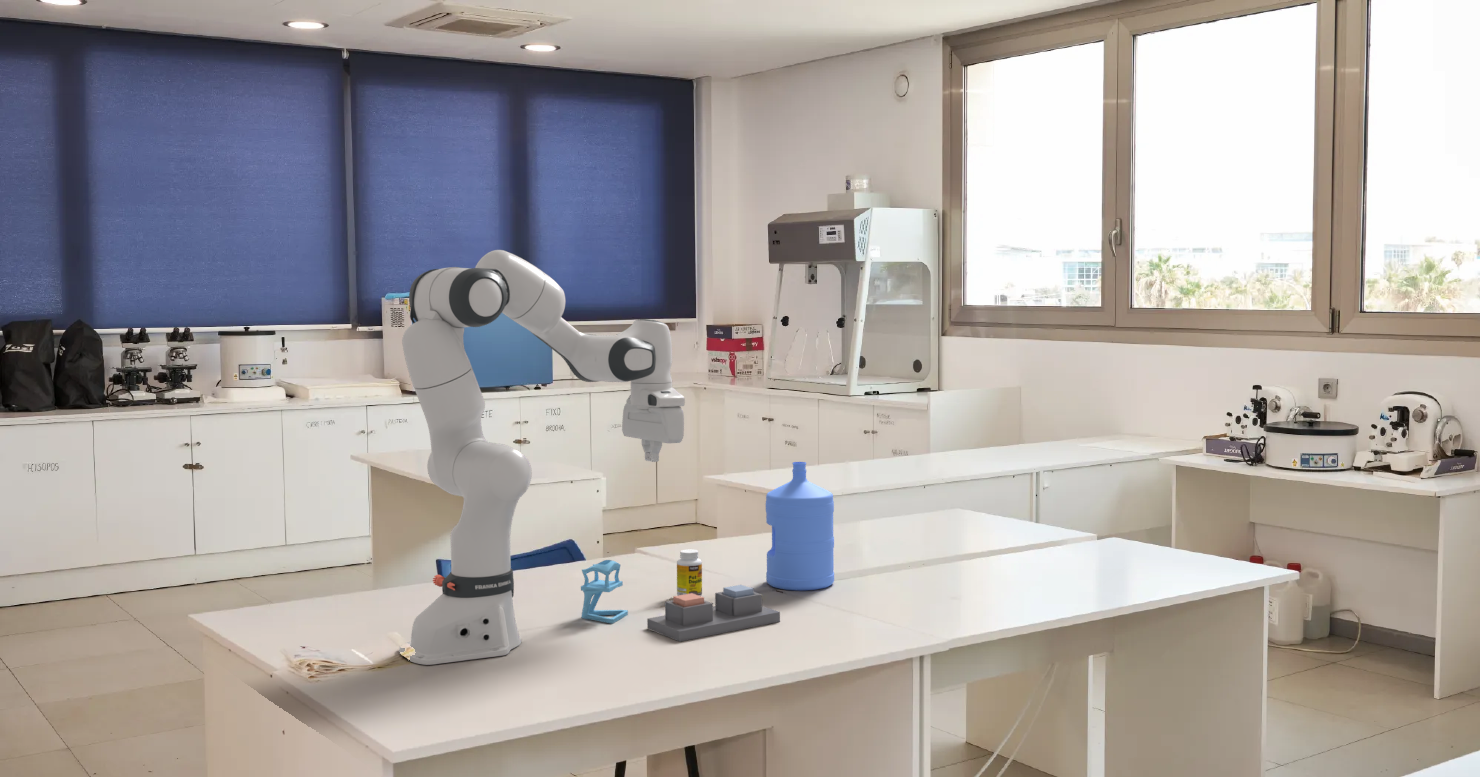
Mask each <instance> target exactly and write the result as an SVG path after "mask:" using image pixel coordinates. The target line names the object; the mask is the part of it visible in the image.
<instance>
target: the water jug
mask: <svg viewBox="0 0 1480 777" xmlns="http://www.w3.org/2000/svg"><path fill="white" fill-rule="evenodd" d="M791 464H792V478H791V480H790V481H789V482H786V483H784V484H783V485H781V486H778V487H776V488H774V489H772V490H770V491H768V492H767V493H766V495H765V499H766V500H765V513H766V514H765V515H766V516H765V518H766V520H765V521H766V522H765V523H766V524H767V525H769V526H771V548H770V549H769V550H768V551H767V552H766V573H765V574H766V576H765V578H766V580H765V581H766V582H767V584H768V586H770V587H772V588H774V589H775V588H776V589H779V590H783V591H784V590H786V591H800V592H801V591H803V592H805V591H815V590H816V591H817V590H820V589H826V588H828V587H830V586H832V585H833V583H835V571H834V565H835V564H834V560H835V559H834V557H835V555H834V548H835V536H834V511H835V504H834V503H835V502H834V495H833V493H832V492H831V491H829V490H828V489H825V488H824V487H821V486H819V485H817V484H815V483H813V482H811V481H809V480H808V478H807V468H806V465H807V462H806V461H794V462H792V463H791Z"/></svg>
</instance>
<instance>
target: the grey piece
mask: <svg viewBox="0 0 1480 777" xmlns="http://www.w3.org/2000/svg"><path fill="white" fill-rule="evenodd" d="M714 596H715V598H714V601H715V602H714V604H715V605H714V604H713V603H712V602H711V601H707V600H705V599H704V604H699V605H694V606H688V607H683V606H680V605H678V604H675V603H673V600H667V601H664V602H665V603H664V608H665V610H664V612H665V614H664V615H659V616H653V617H649V618H647V619H646V620H647V623H646V624H647V630H650V631H653V632H656V633H657V634H660V635H662V636H665V637H667V638H670V639H672V640H675V641H677V642H684V641H690V640H695V639H699V638H705V637H710V636H715V635H716V636H717V635H720V634H725V633H730V632H735V631H739V630H745V629H750V628H754V627H755V628H756V627H760V626H764V625H771V624H775V623H779V622H781V612H780V611H779V610H778V611H777V610H776V609H772V608H769V607H766V606H763V595H762V593H758V592H756V591H754V595H749V596H744V597H738V598H734V597H731V596H728V595H725V594H723V591H719V592H715V594H714Z"/></svg>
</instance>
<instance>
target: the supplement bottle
mask: <svg viewBox="0 0 1480 777" xmlns="http://www.w3.org/2000/svg"><path fill="white" fill-rule="evenodd" d="M679 552H680V554H679V559H678V560H676V596H679V595H685V594H690V593H693V594H696V595H699V596H703V595H702V594H703V562H702V560H701V558H699V550H698V549H693V548H692V549H691V548H690V549H689V548H687V549H682V550H680V551H679Z"/></svg>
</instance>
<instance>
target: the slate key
mask: <svg viewBox="0 0 1480 777" xmlns="http://www.w3.org/2000/svg"><path fill="white" fill-rule="evenodd" d="M722 592H723V594H725V595H728V596H731V597H734V598H738V597H744V596H749V595H754V592H755V590H754V588H753V587H749V586H746V585H743V584H737V585H732V586H725V587H723V588H722Z"/></svg>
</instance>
